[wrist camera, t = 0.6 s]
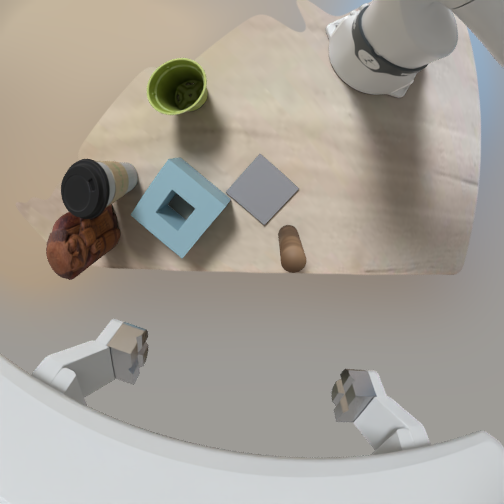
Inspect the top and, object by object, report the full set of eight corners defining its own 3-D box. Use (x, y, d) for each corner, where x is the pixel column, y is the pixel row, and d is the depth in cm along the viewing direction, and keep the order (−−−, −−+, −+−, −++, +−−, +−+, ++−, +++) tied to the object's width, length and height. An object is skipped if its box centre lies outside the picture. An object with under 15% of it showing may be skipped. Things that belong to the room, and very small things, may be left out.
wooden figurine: (125, 250, 53) (77, 292, 36) (102, 252, 53) (53, 291, 37) (113, 195, 48) (55, 220, 32) (90, 200, 49) (32, 225, 32)
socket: (180, 157, 45) (168, 159, 40) (230, 199, 48) (225, 206, 42) (144, 207, 49) (130, 215, 43) (191, 246, 51) (182, 258, 46)
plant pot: (164, 78, 40) (144, 67, 32) (214, 66, 39) (203, 51, 31) (169, 124, 43) (149, 121, 35) (220, 114, 42) (209, 107, 34)
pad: (260, 153, 44) (260, 153, 44) (298, 188, 46) (299, 188, 46) (226, 191, 47) (225, 192, 47) (264, 224, 49) (264, 225, 49)
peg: (287, 221, 49) (293, 244, 37) (302, 234, 49) (311, 260, 38) (274, 235, 50) (275, 261, 39) (288, 247, 50) (293, 277, 39)
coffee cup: (154, 176, 47) (113, 190, 33) (126, 210, 49) (83, 234, 36) (124, 143, 44) (76, 147, 31) (98, 178, 47) (50, 193, 33)
